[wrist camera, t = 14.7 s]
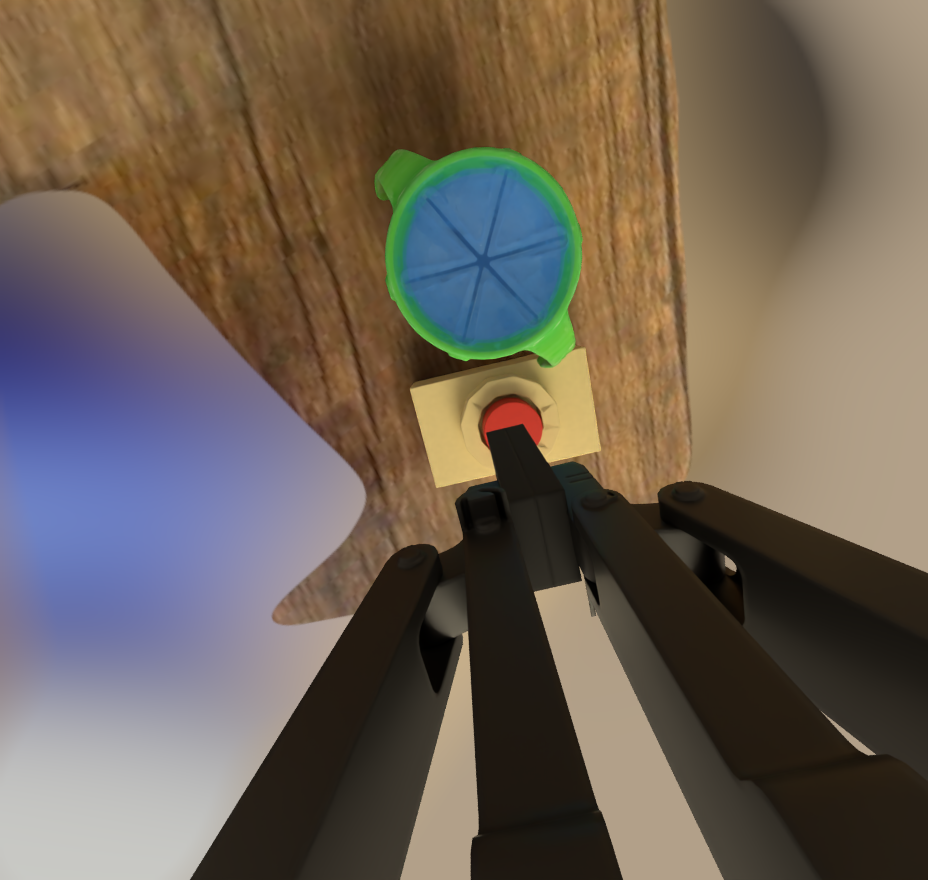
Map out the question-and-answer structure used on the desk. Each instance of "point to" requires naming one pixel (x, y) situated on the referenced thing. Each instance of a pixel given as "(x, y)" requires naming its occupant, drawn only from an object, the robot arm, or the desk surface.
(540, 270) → the snack cup
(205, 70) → the desk surface
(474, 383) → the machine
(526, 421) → the button
